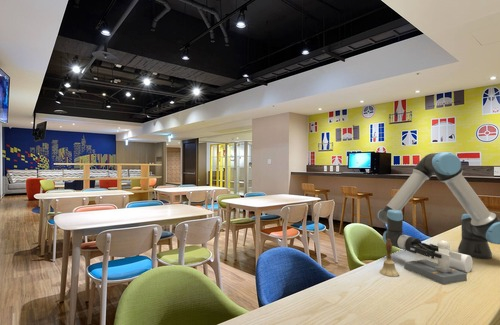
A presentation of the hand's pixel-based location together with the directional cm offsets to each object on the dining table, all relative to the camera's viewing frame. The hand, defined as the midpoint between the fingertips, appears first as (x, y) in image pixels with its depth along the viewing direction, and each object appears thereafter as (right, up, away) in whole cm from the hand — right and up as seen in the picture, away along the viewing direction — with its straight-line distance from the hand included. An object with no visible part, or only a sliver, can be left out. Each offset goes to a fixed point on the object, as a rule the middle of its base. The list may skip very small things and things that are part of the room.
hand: (455, 258), depth 122 cm
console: (-3, -11, +9) cm, 15 cm away
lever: (-2, -7, +5) cm, 9 cm away
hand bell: (-23, -11, +10) cm, 28 cm away
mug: (+14, -11, +17) cm, 25 cm away
